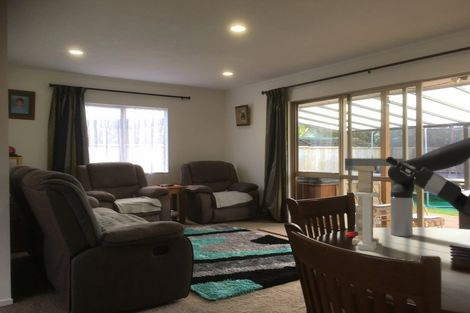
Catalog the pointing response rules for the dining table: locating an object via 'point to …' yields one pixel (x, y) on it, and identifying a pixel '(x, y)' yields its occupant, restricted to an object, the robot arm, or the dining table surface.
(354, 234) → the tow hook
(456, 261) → the dining table surface
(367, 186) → the tall stand
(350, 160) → the hook bar
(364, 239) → the rest post
